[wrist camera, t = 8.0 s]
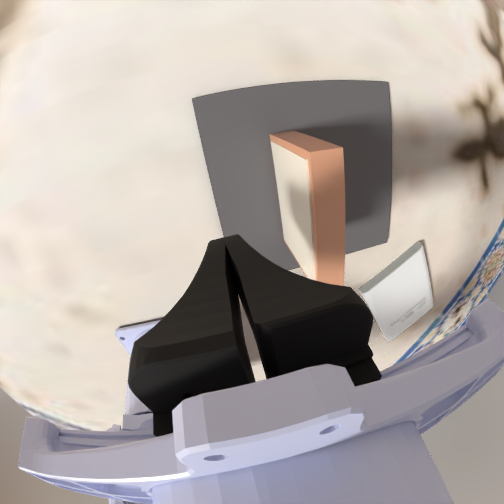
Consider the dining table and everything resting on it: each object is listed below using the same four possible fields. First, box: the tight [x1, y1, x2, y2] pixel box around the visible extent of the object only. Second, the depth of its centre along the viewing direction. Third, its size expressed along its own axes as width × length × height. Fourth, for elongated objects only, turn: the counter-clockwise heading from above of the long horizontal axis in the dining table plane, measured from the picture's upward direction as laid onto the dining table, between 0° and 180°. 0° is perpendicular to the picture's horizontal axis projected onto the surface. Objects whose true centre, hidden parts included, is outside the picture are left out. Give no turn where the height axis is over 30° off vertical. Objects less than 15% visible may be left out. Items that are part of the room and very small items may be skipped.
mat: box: [192, 80, 392, 270], centre depth 18 cm, size 14×14×1 cm
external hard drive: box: [358, 241, 434, 342], centre depth 28 cm, size 2×8×12 cm
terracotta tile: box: [270, 131, 345, 286], centre depth 16 cm, size 8×2×6 cm, turn 10°
